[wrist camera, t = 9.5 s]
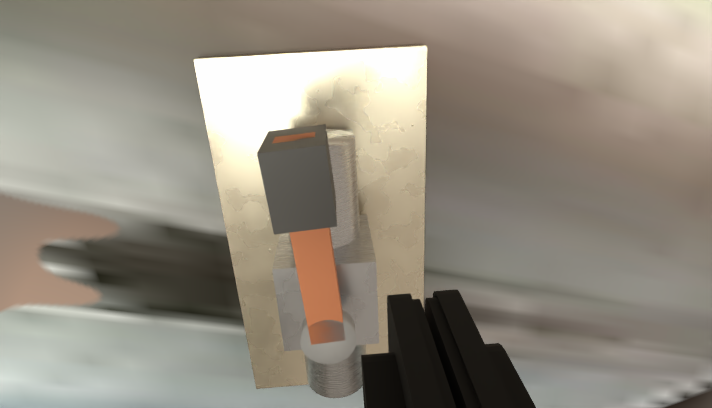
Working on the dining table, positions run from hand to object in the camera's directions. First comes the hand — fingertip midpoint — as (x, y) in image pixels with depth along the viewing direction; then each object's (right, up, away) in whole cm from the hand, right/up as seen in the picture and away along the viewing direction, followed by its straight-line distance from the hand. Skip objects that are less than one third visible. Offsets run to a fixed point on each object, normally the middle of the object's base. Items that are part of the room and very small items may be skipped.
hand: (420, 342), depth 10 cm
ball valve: (-4, +1, +27) cm, 27 cm away
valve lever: (-4, +1, +15) cm, 15 cm away
